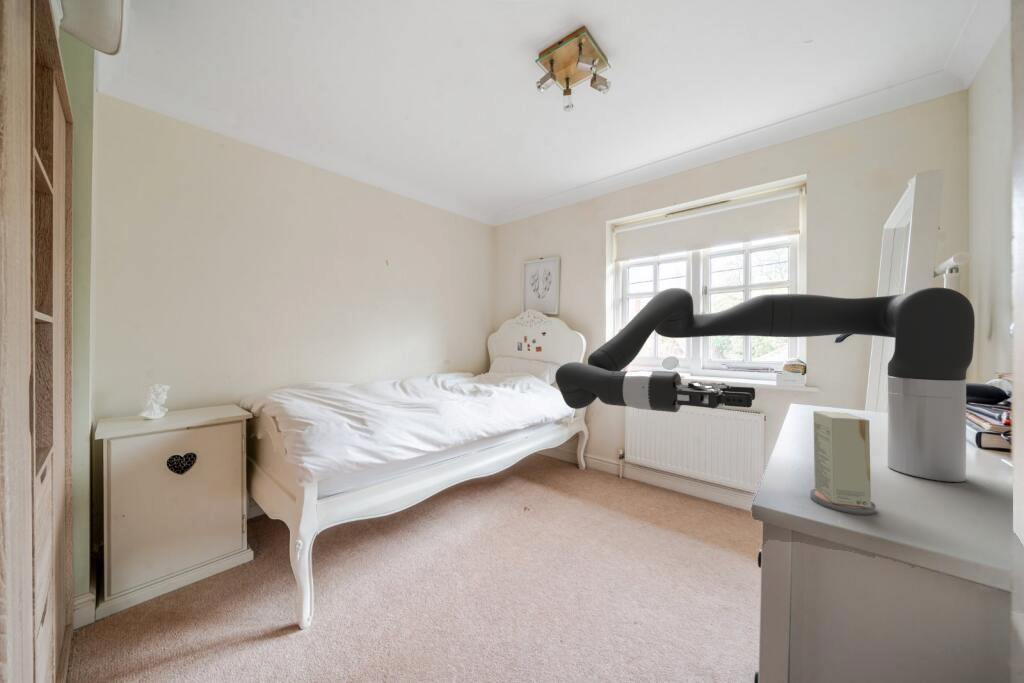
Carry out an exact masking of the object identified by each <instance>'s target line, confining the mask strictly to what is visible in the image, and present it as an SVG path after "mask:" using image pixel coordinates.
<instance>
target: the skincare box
mask: <svg viewBox="0 0 1024 683" xmlns="http://www.w3.org/2000/svg"><path fill="white" fill-rule="evenodd" d="M870 437H871V436H870V419H867V418H864V417H861V416H857V415H854V414H850V413H848V412H841V411H840V412H837V411H824V410H822V411H821V410H814V411H813V462H814V465H813V467H814V469H813V470H814V474H813V475H814V477H813V478H814V489H817V490H818V491H819V492H820V493H822V494H823V495H824V496H825V497H827V498H828V499H829V500H831V501H832V502H833V503H838V504H846V505H853V506H861V507H868V508H869V507H871V502H872V493H871V491H872V490H871V488H872V487H871V486H872V485H871V451H870V450H871V444H870V442H871V441H870V439H871V438H870Z"/></svg>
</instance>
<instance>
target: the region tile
mask: <svg viewBox="0 0 1024 683" xmlns="http://www.w3.org/2000/svg"><path fill="white" fill-rule="evenodd" d="M809 495H810V499H811V500H812V499H813V500H814V501H813V500H812V501H813V502H815V503H816V502H817V504H819V505H821V506H823V507H826V508H827V509H830V510H833V511H838V512H842V513H844V514H851V515H857V516H858V515H859V516H871V515H874V514H876V512H877V511H876V509H877V506H876V504H875V503H874V502H872V501H871V507H869V508H868V507H861V506H853V505H846V504H838V503H833V502H832V501H831V500H829V499H828V498H827V497H825V496H824V495H823V494H822V493H820V492H819V491H818V490H817V489H815V488H814V489H811V490H810V492H809Z"/></svg>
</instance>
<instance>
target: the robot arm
mask: <svg viewBox="0 0 1024 683" xmlns="http://www.w3.org/2000/svg"><path fill="white" fill-rule="evenodd" d="M975 317H976V316H975V311H974V308H973V305H972V303H971V301H970V300H969V299H968V297H967V296H965V295H964V294H962V293H961V292H960V291H958V290H954V289H952V288H946V287H939V286H938V287H928V288H921V289H918V290H913V291H910V292H906V293H901V294H894V295H893V294H892V295H885V296H884V295H883V296H870V297H869V296H868V297H855V298H854V297H853V298H850V297H848V298H847V297H835V296H827V295H819V294H808V293H772V294H771V293H770V294H760V295H757V296H754V297H751V298H749V299H747V300H744V301H742V302H739V303H737V304H735V305H733V306H731V307H729V308H727V309H723V310H721V311H717V312H712V313H695V312H694V300H693V296H692V294H691V293H690V292H689V291H688V290H686V289H684V288H680V287H672V288H666V289H663V290H661V291H660V292H657V294H655V295H654V296H653V297H652V298H651V299H650V300H648V302H647V303H646V304H645V305H644V306H643V308H641V310H640V311H639V312H638V313H637V314H636V315H635V316H634V317H633V318H632V319H631V320H630V321H629V322H628V323H627V325H625V326H624V327H623V328H622V329H621V330H620V331H619V332H618V333H617V334H616V335H614V336H613V337H612V338H610V339H609V340H608V341H606V342H605V343H604V344H603V345H601V346H600V347H598V348H597V349H596V350H594V351H593V352H592V353H591V354H590V355H589V356H588V359H587V363H583V362H577V361H574V362H573V361H571V362H567V363H565V364H563V365H561V366H560V367H559V368H558V369H557V370H556V372H555V376H554V377H555V382H556V385H557V387H558V389H559V392H560V394H561V395H562V399H563V401H564V403H565V404H566V405H567V406H568V407H569V408H571V409H573V410H580V409H583V408H586V407H588V406H590V405H591V404H592V403H594V401H595V400H596V399H599V401H600V402H601V403H602V404H606V405H607V406H608V405H609V406H618V407H628V408H634V409H639V410H647V411H657V412H666V413H677V412H679V410H680V409H681V406H688V407H701V408H709V409H717V408H721V407H724V406H726V407H735V408H736V407H738V408H751V407H752V405H753V401H754V400H755V399H756V388H754V387H753V386H752V387H751V386H735V385H733V386H732V385H730V384H727V383H724V382H721V383H716V382H712V381H711V382H705V381H704V382H703V381H698V380H695V381H694V380H693V381H692V380H691V381H690V382H688V383H687V384H683V383H682V378H681V375H680V373H679V372H677V371H665V370H664V371H663V370H633V371H622V370H624V369H625V368H626V367H628V366H629V365H630V364H631V363H632V362H633V361H634V360H635V358H636V357H637V356H638V355H639V353H640V352H641V350H642V348H643V347H644V346H645V344H646V342H647V341H648V339H649V337H650V336H651V335H652V334H653V332H656V333H657V334H658V335H659V336H662V337H665V338H670V339H679V338H680V339H684V338H685V339H686V338H697V337H698V338H701V337H717V336H718V337H720V336H723V337H724V336H727V337H730V336H732V337H733V336H734V337H736V336H737V337H739V336H740V337H741V336H742V337H746V336H749V337H766V338H767V337H771V338H806V337H807V338H808V337H811V338H813V337H824V336H832V335H861V336H863V335H864V336H873V337H875V336H876V337H885V338H894V339H895V340H894V351H893V355H892V357H891V359H890V360H889V361H888V364H887V468H890V469H891V470H893V471H897V472H900V473H902V474H905V475H909V476H914V477H917V478H922V479H926V480H933V481H940V482H950V483H951V482H952V483H953V482H954V483H960V482H962V483H963V482H966V480H967V371H968V369H969V367H970V365H971V363H972V360H973V358H974V357H973V356H974V343H975V327H976V325H975V323H976V322H975V319H976V318H975Z"/></svg>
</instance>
